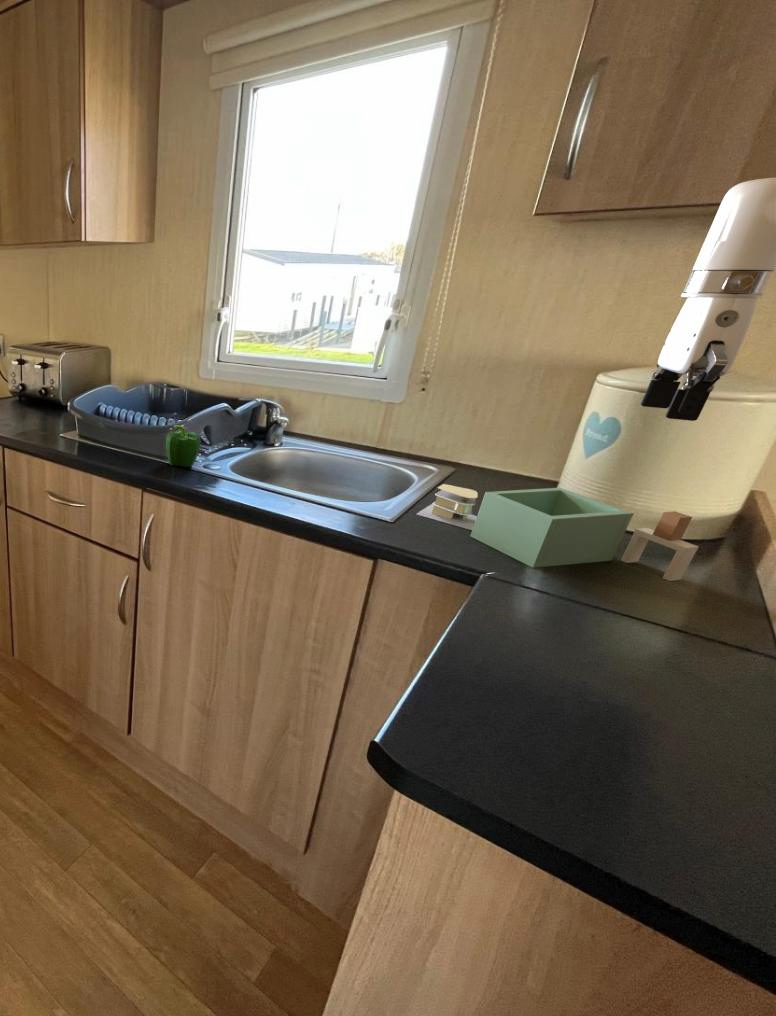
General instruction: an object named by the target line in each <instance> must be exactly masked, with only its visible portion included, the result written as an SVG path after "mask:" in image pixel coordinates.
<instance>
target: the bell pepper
mask: <svg viewBox="0 0 776 1016" xmlns="http://www.w3.org/2000/svg"><path fill="white" fill-rule="evenodd" d="M173 428H174V430H175V432H168V434H167V436H166V441H165V450H166V458H167V461H168V463H169V465H171V466H174V467H183V468H190V467H192V466H194V464H195V463H196V460H197V458H198V455H199V452H200V448H201V438H200V435H197V434H196V433H195V432H194V431H190V432H186V429H185V427H183V426H182V425H173ZM176 430H179V431H176Z"/></svg>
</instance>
